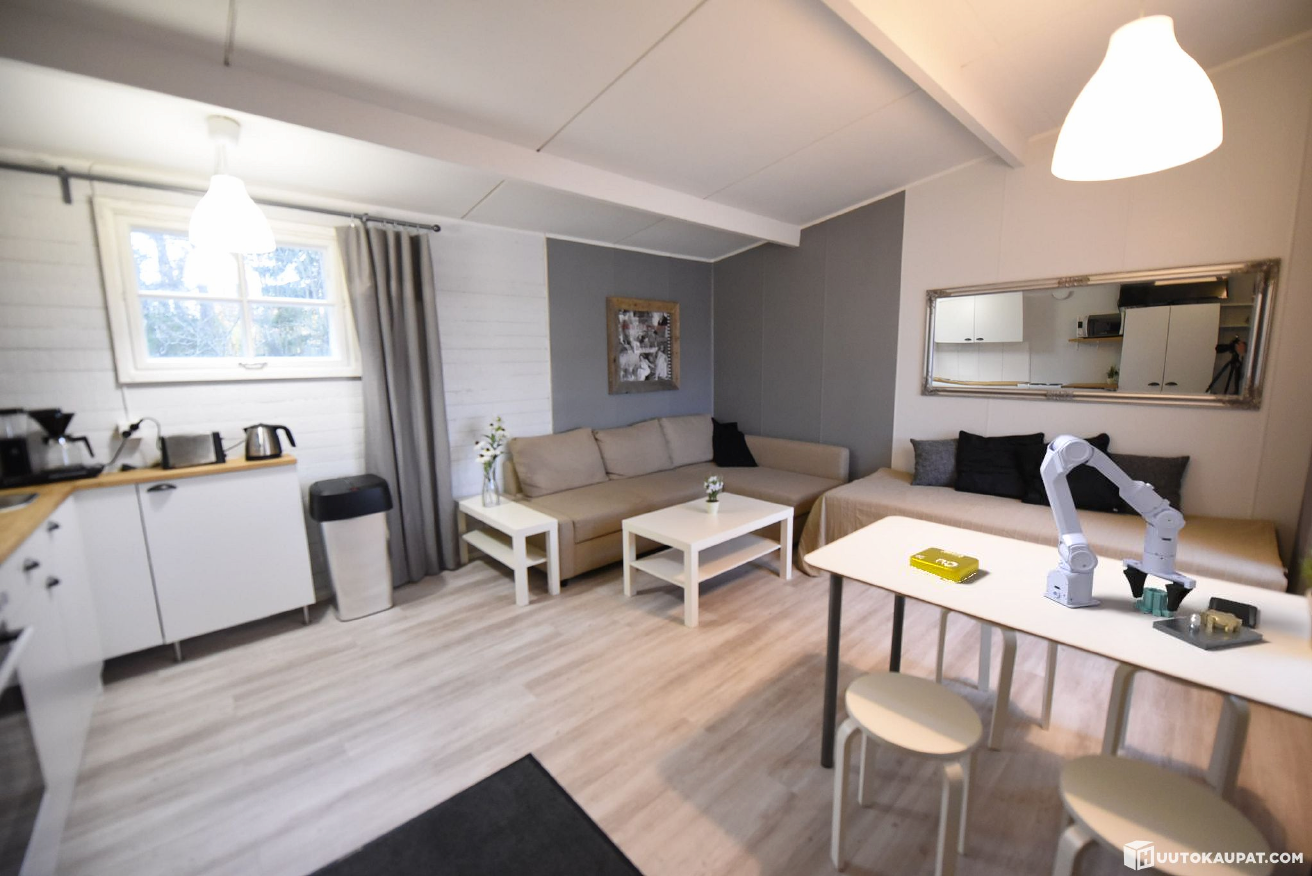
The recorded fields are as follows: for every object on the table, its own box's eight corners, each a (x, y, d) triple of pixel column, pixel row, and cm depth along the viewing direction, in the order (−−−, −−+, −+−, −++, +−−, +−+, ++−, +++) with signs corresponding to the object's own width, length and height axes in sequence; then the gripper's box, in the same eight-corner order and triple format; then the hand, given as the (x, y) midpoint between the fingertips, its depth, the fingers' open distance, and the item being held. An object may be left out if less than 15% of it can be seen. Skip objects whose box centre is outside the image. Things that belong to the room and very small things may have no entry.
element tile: (980, 572, 154) (981, 557, 153) (957, 585, 145) (958, 570, 145) (931, 558, 166) (931, 545, 165) (906, 570, 158) (907, 555, 157)
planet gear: (1158, 618, 123) (1160, 598, 122) (1127, 605, 130) (1128, 586, 129) (1181, 615, 124) (1183, 595, 123) (1149, 602, 131) (1151, 583, 130)
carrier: (1205, 650, 109) (1207, 627, 108) (1152, 627, 119) (1154, 606, 118) (1262, 641, 112) (1265, 618, 111) (1206, 619, 121) (1208, 598, 121)
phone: (1257, 606, 126) (1255, 626, 116) (1256, 610, 126) (1255, 631, 116) (1210, 596, 132) (1205, 614, 122) (1210, 600, 132) (1205, 618, 123)
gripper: (1208, 561, 118) (1202, 615, 120) (1140, 541, 132) (1135, 590, 134) (1184, 564, 117) (1178, 619, 119) (1118, 543, 131) (1113, 593, 133)
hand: (1154, 604), depth 126 cm, fingers open, 7 cm apart
